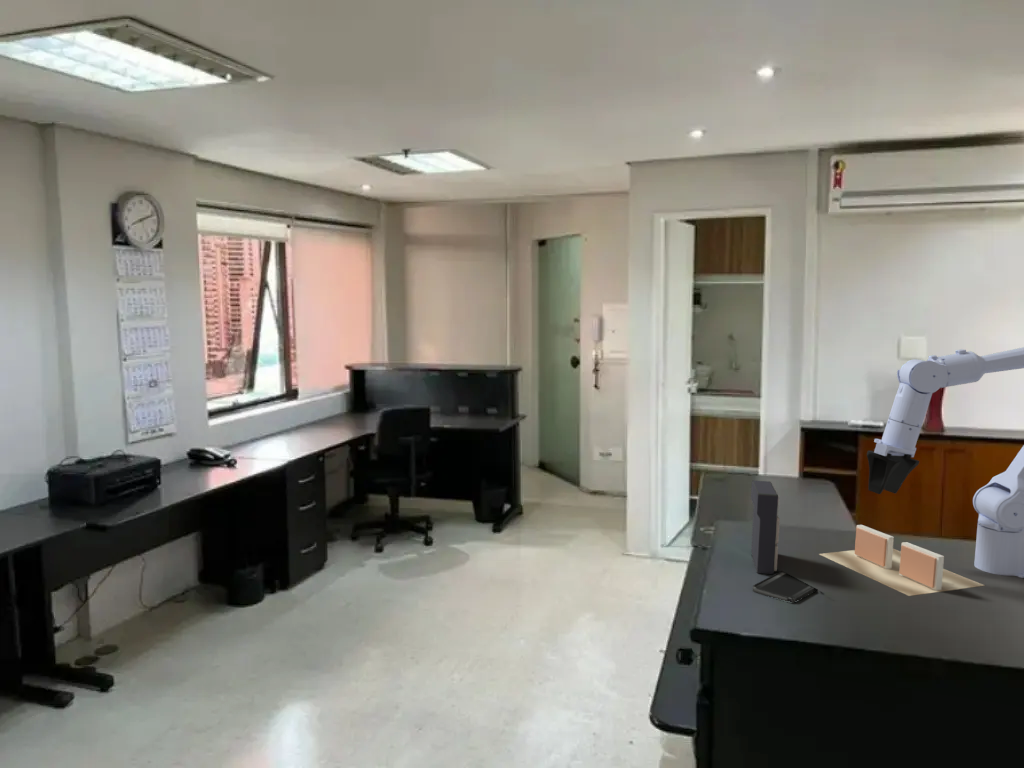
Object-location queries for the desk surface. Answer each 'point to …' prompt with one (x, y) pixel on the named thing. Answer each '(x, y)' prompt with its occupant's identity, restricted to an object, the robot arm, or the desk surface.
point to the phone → (783, 587)
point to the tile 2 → (921, 566)
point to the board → (897, 574)
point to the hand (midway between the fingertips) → (882, 491)
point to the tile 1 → (874, 546)
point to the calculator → (765, 526)
